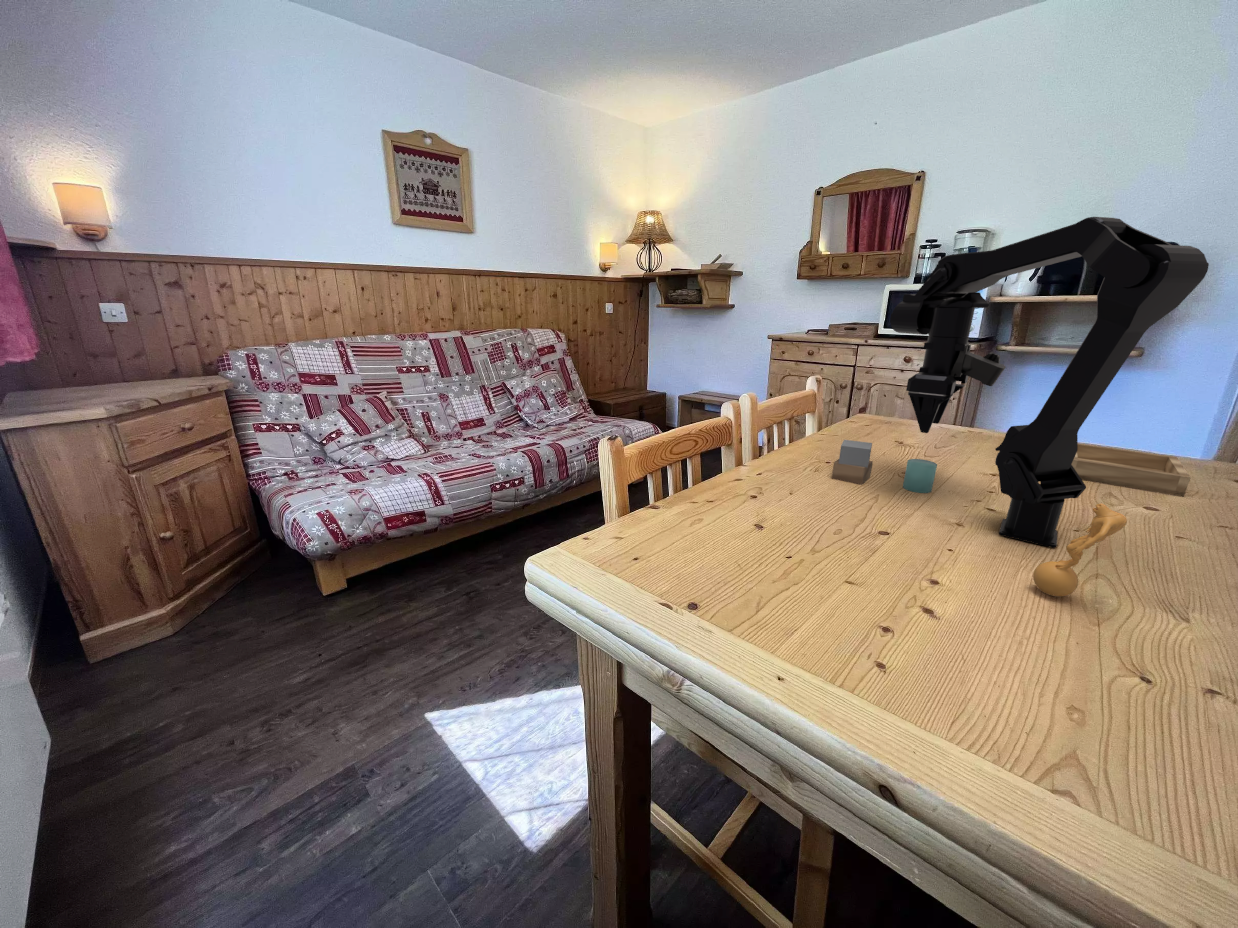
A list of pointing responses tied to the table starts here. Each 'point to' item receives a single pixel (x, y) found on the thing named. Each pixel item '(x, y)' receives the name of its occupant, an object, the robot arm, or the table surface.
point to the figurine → (1077, 554)
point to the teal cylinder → (919, 475)
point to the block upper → (855, 453)
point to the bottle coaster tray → (1131, 469)
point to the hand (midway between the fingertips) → (930, 427)
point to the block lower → (851, 473)
